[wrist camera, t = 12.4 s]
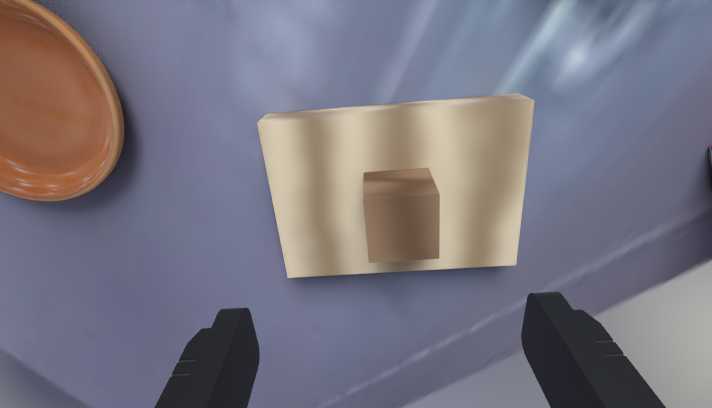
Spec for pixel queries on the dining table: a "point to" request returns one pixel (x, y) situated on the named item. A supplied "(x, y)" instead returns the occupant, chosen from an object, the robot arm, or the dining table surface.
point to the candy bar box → (710, 157)
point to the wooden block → (397, 152)
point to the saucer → (53, 107)
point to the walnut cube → (401, 215)
